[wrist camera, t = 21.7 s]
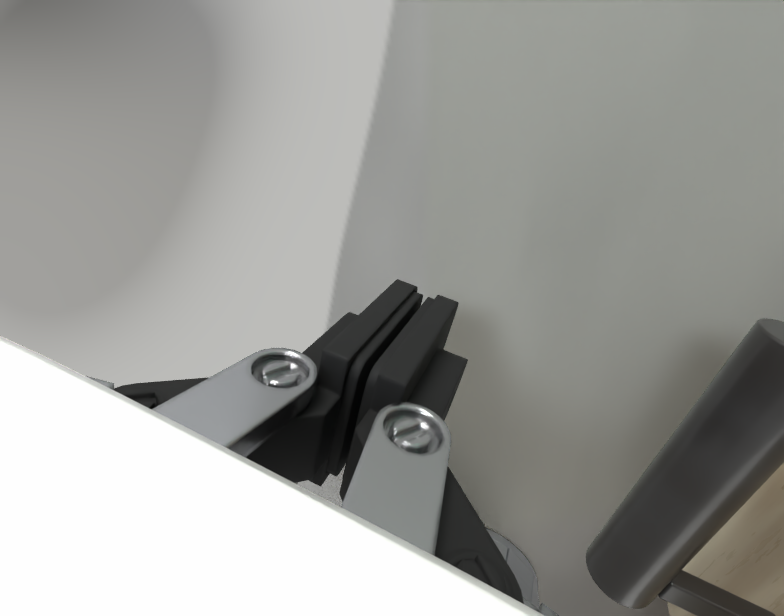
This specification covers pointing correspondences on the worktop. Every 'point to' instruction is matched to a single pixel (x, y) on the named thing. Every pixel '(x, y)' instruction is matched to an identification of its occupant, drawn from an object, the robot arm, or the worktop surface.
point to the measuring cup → (518, 568)
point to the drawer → (709, 500)
